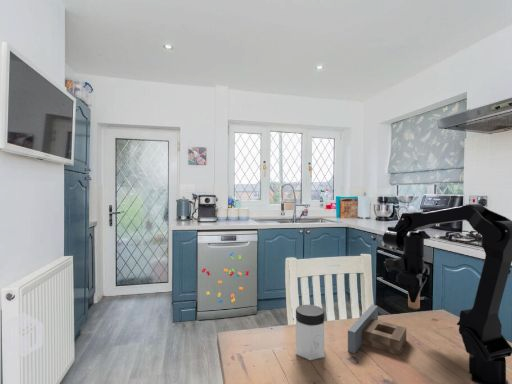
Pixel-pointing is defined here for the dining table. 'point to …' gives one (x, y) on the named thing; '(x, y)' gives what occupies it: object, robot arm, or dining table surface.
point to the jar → (310, 331)
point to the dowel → (414, 305)
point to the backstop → (360, 328)
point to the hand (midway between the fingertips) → (413, 300)
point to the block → (385, 336)
